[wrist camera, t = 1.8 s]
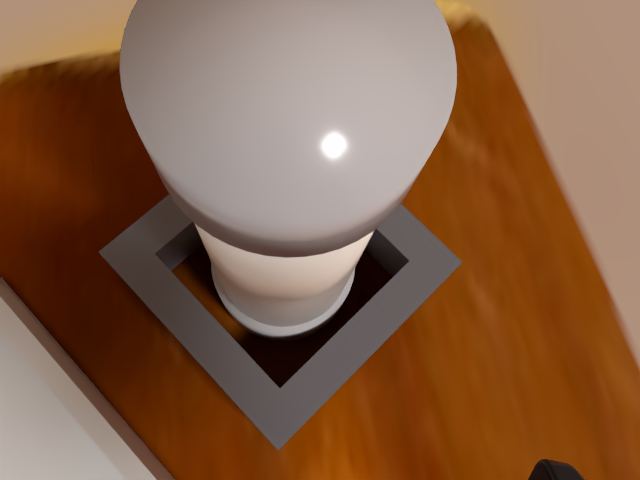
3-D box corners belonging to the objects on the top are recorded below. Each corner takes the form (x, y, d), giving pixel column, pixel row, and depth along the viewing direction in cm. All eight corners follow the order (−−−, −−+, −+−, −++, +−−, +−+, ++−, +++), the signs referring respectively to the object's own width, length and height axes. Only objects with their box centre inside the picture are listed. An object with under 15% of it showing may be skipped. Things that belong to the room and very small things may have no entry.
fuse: (280, 369, 19) (285, 291, 7) (190, 273, 20) (47, 44, 8) (374, 277, 20) (523, 69, 8) (285, 189, 21) (297, -126, 9)
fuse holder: (278, 445, 19) (277, 450, 16) (119, 271, 20) (98, 252, 18) (441, 279, 21) (462, 262, 18) (287, 130, 22) (288, 96, 20)
